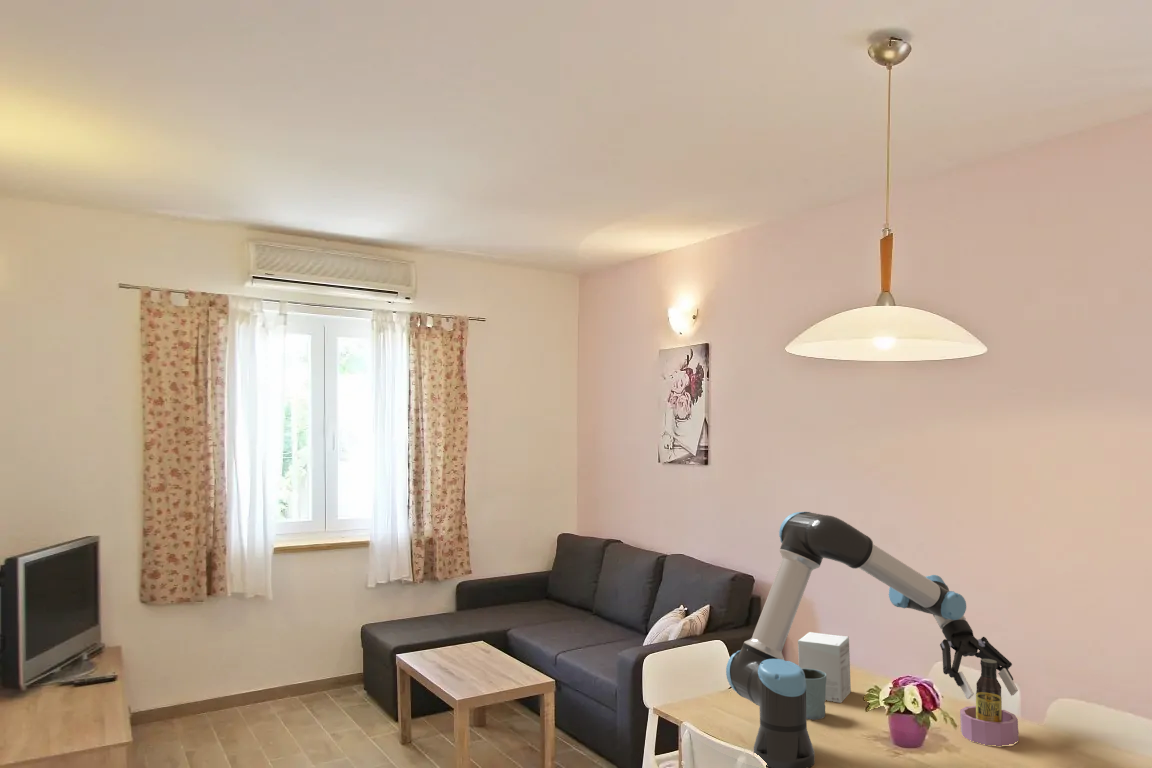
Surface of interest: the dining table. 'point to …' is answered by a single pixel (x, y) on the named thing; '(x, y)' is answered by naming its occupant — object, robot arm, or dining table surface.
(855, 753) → the dining table surface
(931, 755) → the dining table surface
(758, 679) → the robot arm
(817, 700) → the teal cup
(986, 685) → the sauce bottle
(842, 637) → the supplement box
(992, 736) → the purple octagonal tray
